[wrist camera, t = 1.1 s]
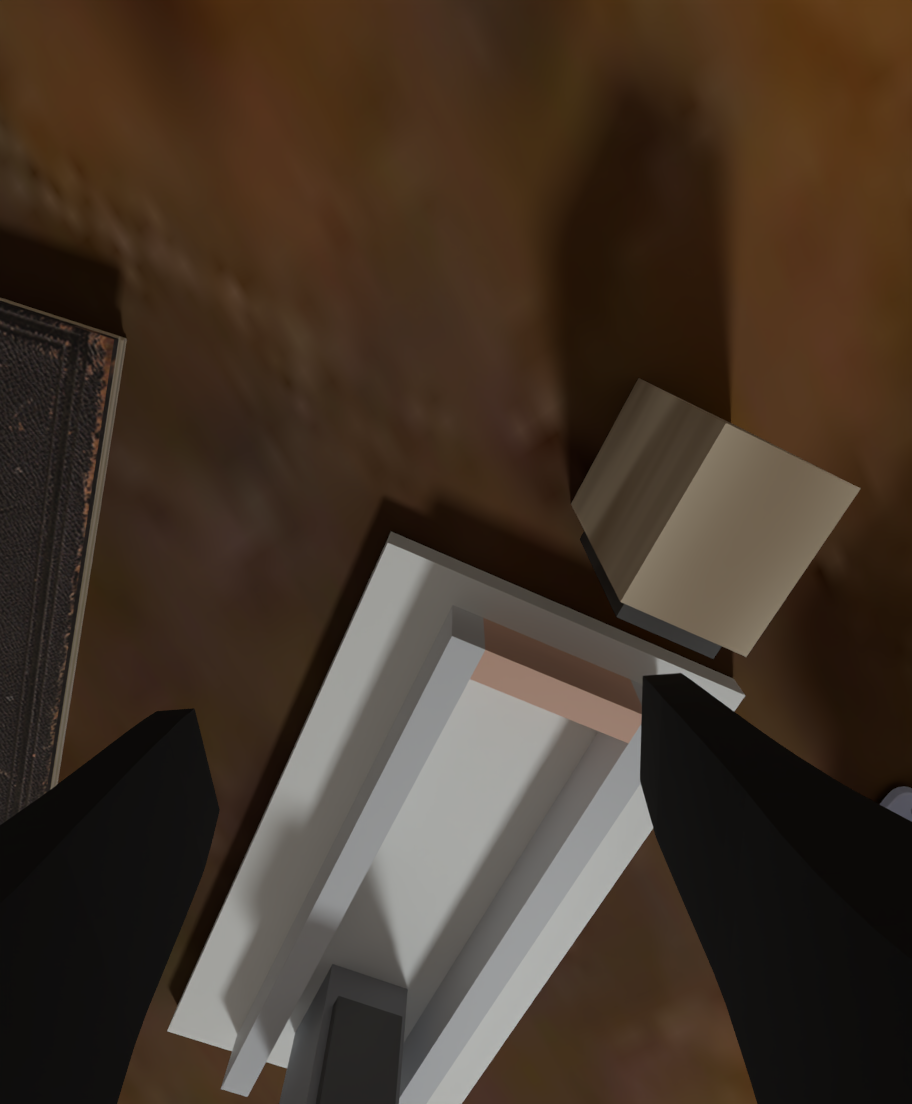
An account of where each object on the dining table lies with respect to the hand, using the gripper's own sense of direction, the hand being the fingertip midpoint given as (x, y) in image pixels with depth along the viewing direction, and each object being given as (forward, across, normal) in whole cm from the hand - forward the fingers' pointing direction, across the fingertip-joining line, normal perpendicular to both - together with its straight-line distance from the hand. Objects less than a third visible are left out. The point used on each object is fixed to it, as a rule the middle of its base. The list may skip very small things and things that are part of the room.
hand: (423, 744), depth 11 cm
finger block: (+10, -6, -1) cm, 12 cm away
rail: (+10, +1, +13) cm, 16 cm away
